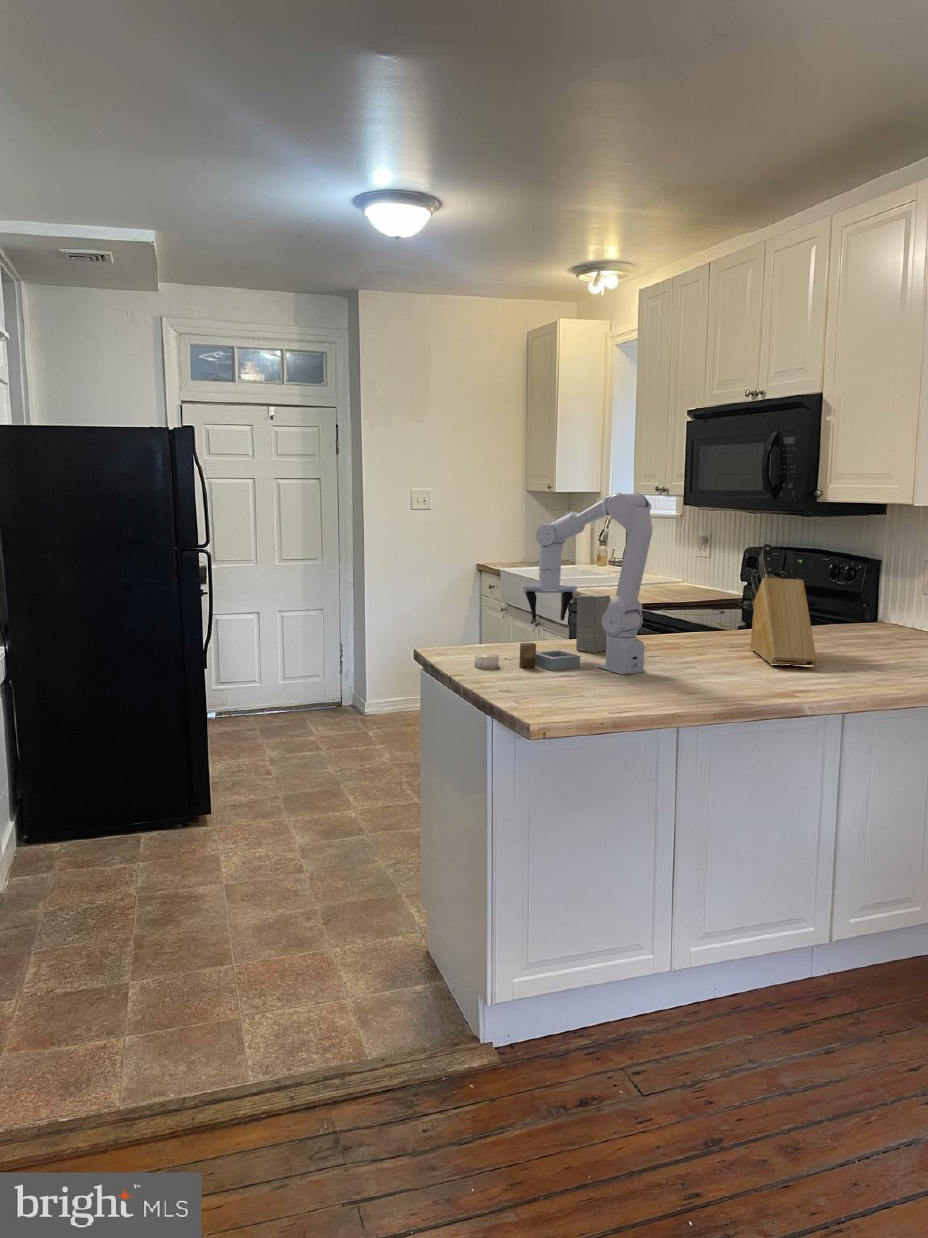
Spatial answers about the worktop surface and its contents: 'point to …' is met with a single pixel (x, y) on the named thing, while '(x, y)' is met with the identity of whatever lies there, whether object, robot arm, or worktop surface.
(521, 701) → the worktop surface
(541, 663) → the socket board
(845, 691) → the worktop surface
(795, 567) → the knife block
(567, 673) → the worktop surface
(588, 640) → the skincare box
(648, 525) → the robot arm
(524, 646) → the walnut dowel
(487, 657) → the ivory rounded cylinder
